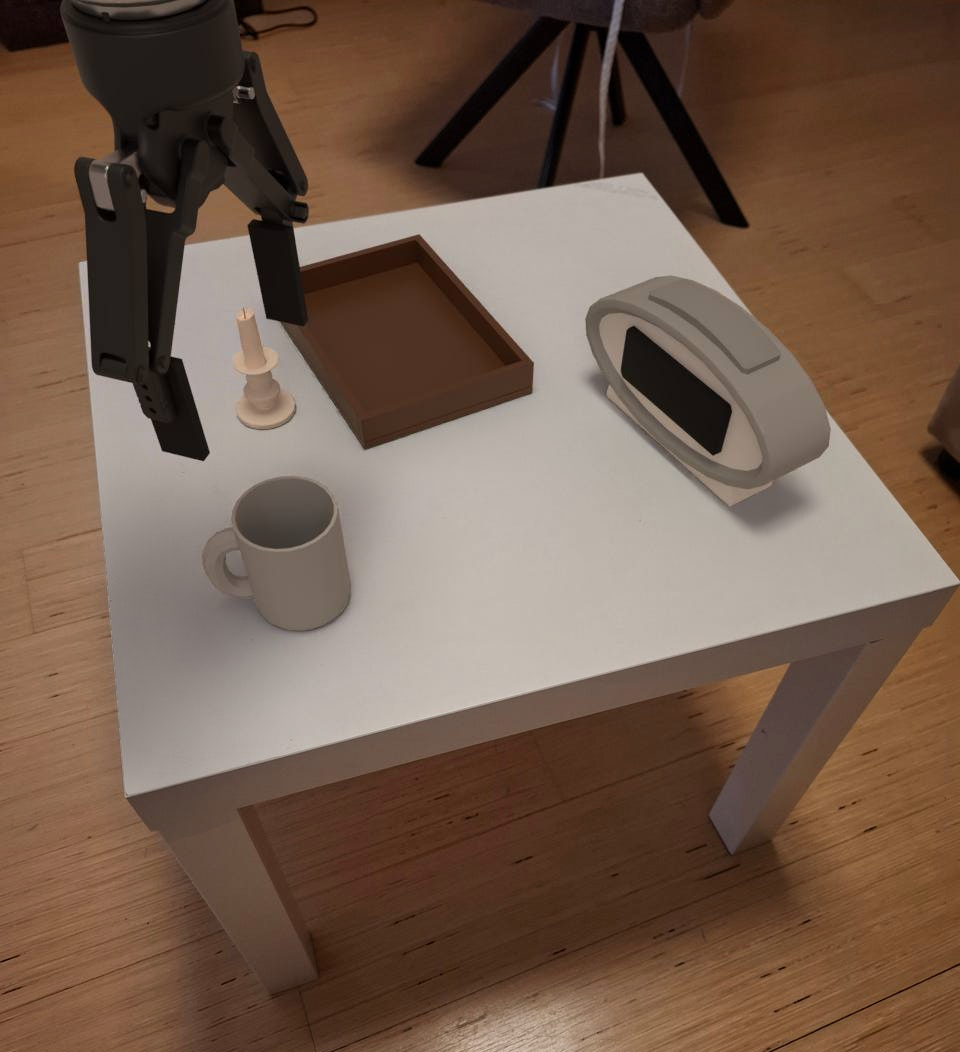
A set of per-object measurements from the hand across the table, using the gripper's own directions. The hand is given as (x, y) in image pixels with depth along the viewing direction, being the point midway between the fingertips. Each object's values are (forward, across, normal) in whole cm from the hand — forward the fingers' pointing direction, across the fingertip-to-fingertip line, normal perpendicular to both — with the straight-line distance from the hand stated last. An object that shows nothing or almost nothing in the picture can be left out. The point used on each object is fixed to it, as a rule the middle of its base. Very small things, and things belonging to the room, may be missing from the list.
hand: (240, 382), depth 58 cm
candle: (+18, +17, +10) cm, 26 cm away
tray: (+18, +29, +2) cm, 34 cm away
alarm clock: (+18, +25, -26) cm, 40 cm away
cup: (+18, -3, -1) cm, 18 cm away
